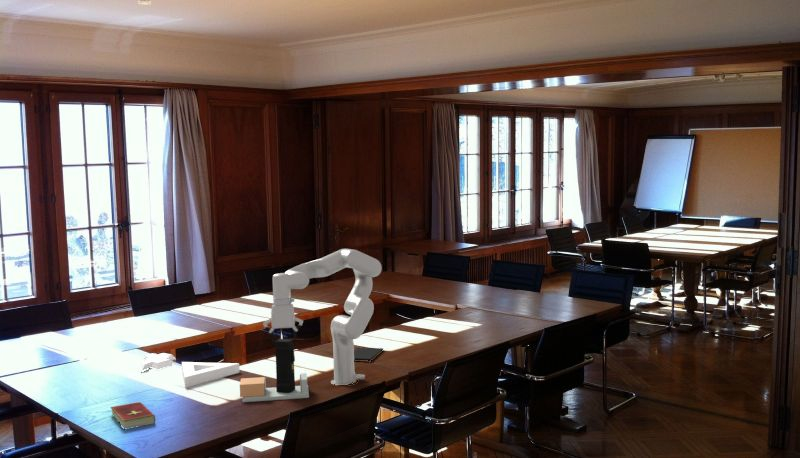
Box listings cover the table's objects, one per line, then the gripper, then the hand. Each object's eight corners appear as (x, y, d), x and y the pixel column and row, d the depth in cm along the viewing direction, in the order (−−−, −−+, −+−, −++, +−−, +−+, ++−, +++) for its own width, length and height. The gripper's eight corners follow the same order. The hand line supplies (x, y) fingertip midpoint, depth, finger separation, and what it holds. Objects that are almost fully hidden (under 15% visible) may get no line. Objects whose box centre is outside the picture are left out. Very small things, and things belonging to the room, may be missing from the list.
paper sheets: (174, 376, 357) (173, 365, 357) (131, 379, 354) (130, 367, 353) (181, 358, 392) (181, 348, 391) (143, 361, 388) (142, 351, 388)
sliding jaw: (266, 388, 324) (265, 376, 323) (265, 395, 314) (265, 382, 313) (241, 390, 322) (241, 378, 322) (240, 397, 312) (239, 384, 312)
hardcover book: (141, 410, 304) (141, 400, 303) (155, 424, 286) (155, 413, 286) (111, 416, 297) (110, 406, 297) (123, 430, 280) (123, 419, 279)
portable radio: (298, 389, 322) (296, 333, 320) (292, 393, 316) (290, 336, 315) (281, 388, 324) (279, 332, 322) (275, 392, 318) (273, 335, 317)
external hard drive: (383, 354, 391) (383, 348, 391) (370, 364, 369) (370, 359, 369) (358, 352, 395) (358, 347, 395) (343, 363, 373) (343, 357, 373)
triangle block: (182, 374, 360) (181, 361, 359) (236, 368, 368) (235, 356, 368) (185, 390, 331) (184, 377, 331) (243, 384, 340) (243, 370, 339)
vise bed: (307, 388, 329) (307, 372, 328) (309, 397, 315) (308, 380, 314) (244, 392, 324) (243, 376, 324) (242, 402, 310) (241, 384, 310)
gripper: (302, 299, 322) (303, 337, 324) (262, 301, 320) (263, 340, 321) (302, 302, 315) (304, 341, 316) (261, 304, 312) (263, 344, 314)
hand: (283, 340), depth 319 cm, fingers open, 9 cm apart
